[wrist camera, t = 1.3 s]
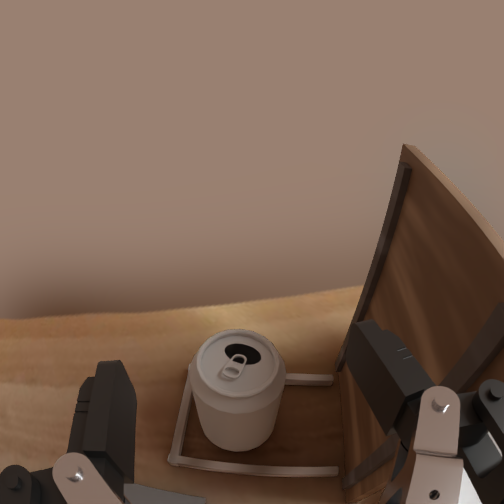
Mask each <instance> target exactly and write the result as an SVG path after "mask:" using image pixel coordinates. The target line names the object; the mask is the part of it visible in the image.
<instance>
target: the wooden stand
mask: <svg viewBox="0 0 504 504" xmlns="http://www.w3.org/2000/svg"><path fill="white" fill-rule="evenodd" d="M369 319H373V320H374V321H375V322H376V323H377V324H378V326H379V327H380V328H381V330H382V331H383V330H386V329H387V330H389V331H391V332H392V333H394V334H395V335H397V336H398V337H399V338H400V339H401V340H402V341H403V343H404V344H405V345H406V348H407V349H409V350H410V352H411V353H412V356H414V357H415V358H416V360H417V361H418V362H419V363H420V365H421V366H422V367H423V369H424V370H425V371H426V373H427V374H428V375H429V377H430V378H431V379H432V381H433V382H434V383H435V385H436V386H443V387H447V388H449V389H451V390H452V391H454V392H455V393H456V394H460V393H468V392H474V391H477V390H478V389H479V387H480V385H481V384H482V383H483V382H484V381H486V380H489V379H495V380H499V381H501V382H503V383H504V241H503V240H502V239H501V237H500V236H499V235H498V234H497V232H496V231H495V230H494V229H493V227H492V226H491V225H490V224H489V223H488V221H487V220H486V219H485V218H484V217H483V216H482V214H481V213H480V212H479V211H478V210H477V209H476V208H475V206H474V205H473V204H472V203H471V202H470V201H469V200H468V199H467V198H466V196H465V195H464V194H463V193H462V192H461V191H460V190H459V189H458V188H457V187H456V186H455V185H454V184H453V183H452V182H451V181H450V180H449V179H448V178H447V177H446V175H444V173H442V171H441V170H440V169H438V168H437V167H436V166H435V165H434V164H433V163H432V162H431V161H430V160H429V159H428V158H427V157H426V156H425V155H424V154H423V153H422V152H420V150H418V149H417V148H416V147H415V146H412V145H407V144H403V146H402V151H401V156H400V160H399V165H398V169H397V174H396V177H395V182H394V186H393V190H392V194H391V198H390V202H389V205H388V209H387V213H386V216H385V220H384V224H383V227H382V231H381V234H380V237H379V241H378V244H377V248H376V251H375V254H374V257H373V260H372V264H371V267H370V270H369V273H368V276H367V279H366V282H365V285H364V288H363V291H362V294H361V297H360V299H359V302H358V305H357V308H356V311H355V313H354V316H353V319H352V321H351V324H350V327H349V329H348V332H347V335H346V337H345V340H344V342H343V345H342V347H341V350H340V352H339V355H338V357H337V360H336V362H335V370H336V372H338V375H339V385H340V397H341V409H342V423H343V439H344V457H345V477H343V478H342V483H343V489H346V503H356V502H358V501H360V500H362V499H364V498H366V497H368V496H370V495H372V494H374V493H376V492H377V491H379V490H381V489H383V488H385V487H386V485H387V482H388V479H389V475H390V471H391V468H392V464H393V460H394V456H395V452H396V448H397V444H398V440H399V439H400V438H399V436H398V434H397V433H394V434H392V435H389V436H387V437H386V435H385V433H384V432H383V430H382V428H381V426H380V424H379V423H378V421H377V419H376V417H375V415H374V413H373V412H372V410H371V408H370V406H369V404H368V403H367V401H366V399H365V397H364V395H363V394H362V392H361V390H360V388H359V386H358V385H357V383H356V381H355V379H354V378H353V376H352V374H351V372H350V370H349V368H348V366H347V362H346V351H347V345H348V340H349V334H350V328H351V325H352V324H353V323H357V322H361V321H365V320H369ZM190 365H191V363H190V364H189V367H188V376H187V380H186V384H185V388H184V393H183V397H182V401H181V406H180V410H179V415H178V419H177V424H176V428H175V433H174V437H173V442H172V447H171V451H170V454H169V456H168V462H169V464H170V465H172V466H178V467H179V466H183V467H189V468H195V469H201V470H208V471H216V472H224V473H233V474H243V475H256V476H274V477H333V476H336V475H338V474H339V466H332V467H281V466H261V465H247V464H236V463H227V462H218V461H211V460H203V459H197V458H190V457H184V456H181V452H182V446H183V441H184V436H185V431H186V427H187V422H188V417H189V412H190V407H191V402H192V397H193V391H192V387H191V383H190ZM333 381H334V380H333V375H322V374H295V373H286V379H285V384H286V385H309V386H331V385H332V383H333Z"/></svg>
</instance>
